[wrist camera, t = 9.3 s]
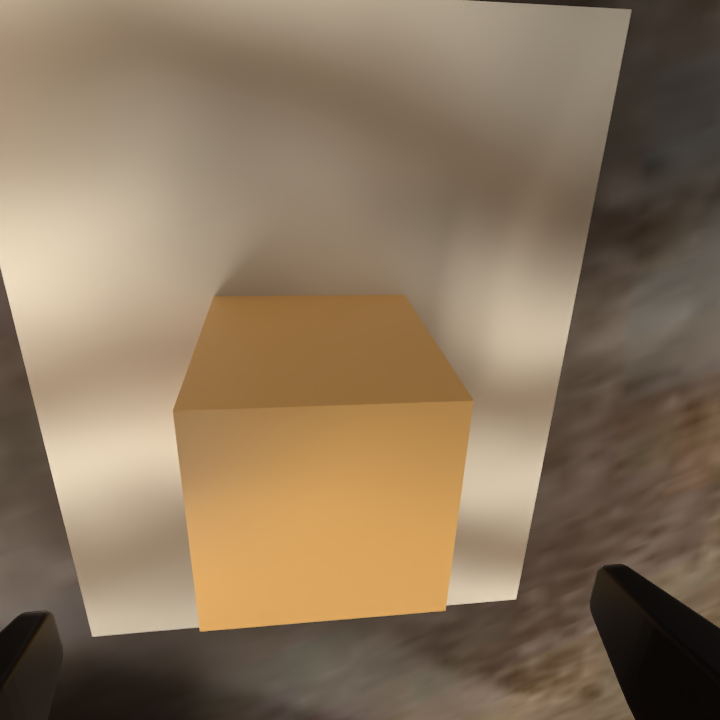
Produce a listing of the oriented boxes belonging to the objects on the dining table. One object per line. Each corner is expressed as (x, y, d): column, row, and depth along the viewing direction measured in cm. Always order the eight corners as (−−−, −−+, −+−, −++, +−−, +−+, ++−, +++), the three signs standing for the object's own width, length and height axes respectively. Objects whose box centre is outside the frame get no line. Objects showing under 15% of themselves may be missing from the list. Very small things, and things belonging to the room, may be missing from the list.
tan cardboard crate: (393, 451, 18) (445, 610, 12) (226, 459, 18) (199, 631, 12) (404, 294, 16) (473, 400, 10) (213, 296, 15) (172, 410, 10)
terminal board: (505, 576, 23) (562, 696, 18) (102, 609, 21) (50, 753, 16) (606, 16, 15) (757, -25, 10) (-44, -19, 13) (-233, -91, 8)
